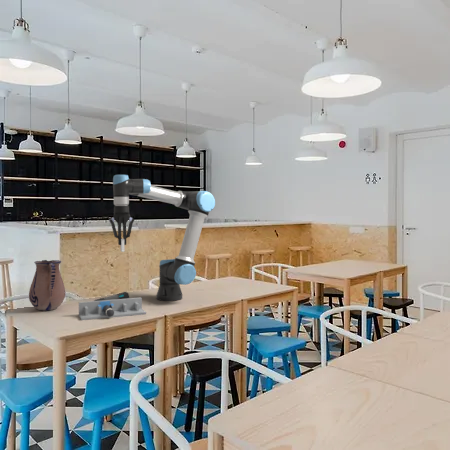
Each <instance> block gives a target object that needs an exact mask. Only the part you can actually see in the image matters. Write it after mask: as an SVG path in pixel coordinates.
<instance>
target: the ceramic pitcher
mask: <svg viewBox="0 0 450 450" xmlns="http://www.w3.org/2000/svg"><path fill="white" fill-rule="evenodd" d="M61 263H62V261H61V260H59V259H57V260H56V259H55V260H53V259H52V260H51V259H50V260H47V259H43V260H37V261H34V264H35V268H36V269H35V273H34V275H33V279H32V281H31V284H30V287H29V291H28V292H29V293H28V300H29V302H30V305H32V307H33V308H34V309H36V310H39V311H44V312H46V311H52V310H53V311H54V310H56V309H58V308H59V307H60V306H61V305H62V304H63V302H64V300H65V298H66V288H65V283H64V280H63V277H62V274H61V270H60V265H61Z"/></svg>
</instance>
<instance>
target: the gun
mask: <svg viewBox="0 0 450 450" xmlns="http://www.w3.org/2000/svg"><path fill="white" fill-rule="evenodd" d="M128 298H130V294H129V292H127V291H123V292H120V293H117V294H113V295H110V296H106V297H102V298H101V297H100V298H98V299H95V300H93V301H102V300H115V299H128Z"/></svg>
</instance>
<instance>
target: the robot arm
mask: <svg viewBox="0 0 450 450" xmlns="http://www.w3.org/2000/svg"><path fill="white" fill-rule="evenodd" d="M112 187H113V205H114V206H113V217H112V218H109V219H108V221H109V223H110V226H111V228H112V232H113V233H112V234H113V235H114V236H113V237H114V238H116V239H118V240H117V242H118V245H119V246H120V252H126V251H125V249H126V248H125V246H127V239H128V238H130V237H131V232H132V228H133V224H134V222H135V220H136V219H135V218H133V217H131V214H130V206H129V204H130V195H131V196H135V197H136V196H137V197H140V198H145V199H150V200H154V201H158V202H162V203H167V204H172V205H174V206H175V207H177V208H181V209H184V210H187V212H188V214H189V218H188V221H187V224H186V228H185V232H184V236H183V239H182V242H181V246H180V250H179V252H178V255H177V256H176V257H175V258H171V259H170V258H169V259H162V260H159V286H158V289H157V292H156V300H157V301H158V300H159V301H164V302H167V301H168V302H171V301H174V302H175V301H179V300H182V299H183V292H182V289H181V285H182V286H183V285H184V286H187V285H189V284H191V283H192V282H193V281H194V280H195V278H196V276H197V271H196V268H195V266H196V265H195V264H196V262H195V260H194V259H195V255H196V251H197V248H198V244H199V240H200V237H201V233H202V229H203V226H204V223H205V219H207V218H208V217H209V213H210V212H212V210H214V208H215V206H216V200H215V197H214V195H213V194H212V193H211V192H209V191H206V190H199V191H197V190H196V191H193V190H192V191H183V190H178V191H176V190H171V189H167V188H163V187H160V186H156V185H155V186H154V185H152V184H151V180H149V179H147V178H146V179H145V178H134V179H133V178H129V175H128V174H115V175H113V178H112ZM128 221H129V222H128ZM115 222H116V223H117V228H116V224H115ZM127 223H128V227H127Z"/></svg>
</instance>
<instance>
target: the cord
mask: <svg viewBox="0 0 450 450" xmlns="http://www.w3.org/2000/svg"><path fill="white" fill-rule="evenodd" d="M103 311H104V312H105V313H106V315H107V316H109V317H111V316H113V315H114V311H113V310H112V309H111V308H110V306H108V305H105V306H104V307H103ZM111 318H112V317H111Z"/></svg>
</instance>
